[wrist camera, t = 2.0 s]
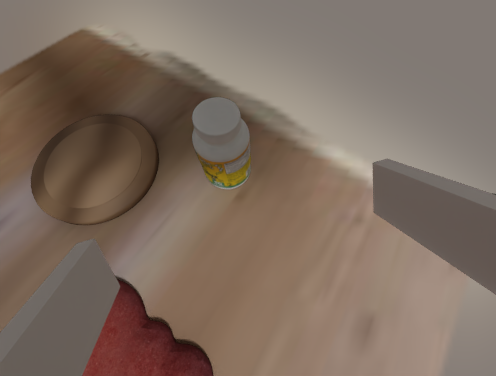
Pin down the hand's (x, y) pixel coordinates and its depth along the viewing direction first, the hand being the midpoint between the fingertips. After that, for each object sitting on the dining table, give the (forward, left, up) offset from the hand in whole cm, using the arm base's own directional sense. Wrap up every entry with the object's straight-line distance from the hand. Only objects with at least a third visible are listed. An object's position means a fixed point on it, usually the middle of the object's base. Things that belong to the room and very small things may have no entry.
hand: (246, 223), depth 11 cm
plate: (-18, +11, -14) cm, 25 cm away
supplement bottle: (-3, +10, -15) cm, 18 cm away
